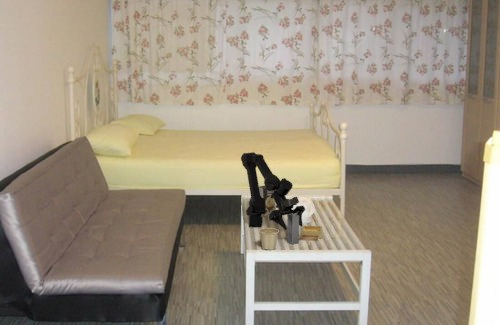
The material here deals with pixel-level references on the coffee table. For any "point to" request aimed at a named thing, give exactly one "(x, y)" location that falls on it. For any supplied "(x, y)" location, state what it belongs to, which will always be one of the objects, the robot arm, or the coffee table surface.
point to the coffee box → (267, 200)
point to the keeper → (312, 231)
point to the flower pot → (268, 238)
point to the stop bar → (293, 229)
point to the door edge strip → (306, 238)
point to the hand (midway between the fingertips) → (294, 227)
